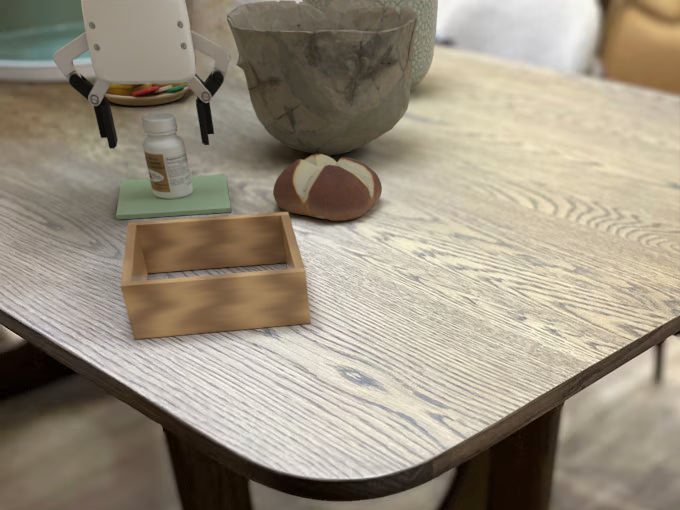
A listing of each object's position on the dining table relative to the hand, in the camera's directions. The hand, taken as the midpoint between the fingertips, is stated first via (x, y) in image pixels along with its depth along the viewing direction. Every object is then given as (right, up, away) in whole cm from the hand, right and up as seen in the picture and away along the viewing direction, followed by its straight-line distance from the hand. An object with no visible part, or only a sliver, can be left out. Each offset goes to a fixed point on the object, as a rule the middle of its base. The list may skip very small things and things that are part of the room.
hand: (160, 143), depth 91 cm
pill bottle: (0, -4, +4) cm, 5 cm away
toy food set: (-15, +27, +38) cm, 49 cm away
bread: (+18, -6, +3) cm, 19 cm away
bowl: (+16, +9, +18) cm, 26 cm away
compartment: (+11, -22, -15) cm, 29 cm away
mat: (0, -4, +4) cm, 6 cm away
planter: (+19, +32, +43) cm, 57 cm away
